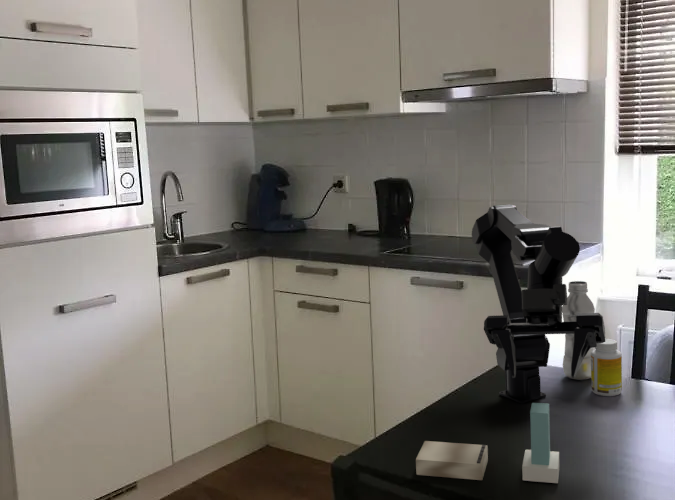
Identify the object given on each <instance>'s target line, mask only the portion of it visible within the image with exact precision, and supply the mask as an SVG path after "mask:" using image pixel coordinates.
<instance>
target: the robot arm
mask: <svg viewBox="0 0 675 500" xmlns="http://www.w3.org/2000/svg"><path fill="white" fill-rule="evenodd" d="M471 239H472V244H474V245H475V247H476V250H477V253H478V255H479V256H480V257H481V258H482V259H484V260H485V261H486V262H487V263H488V265H489V268H490V271H491V275H492V279H493V282H494V286H495V289H496V294H497V297H498V300H499V305H500V308H501V313H502V315H487V317H486V318H485V319H484V321H483V332H484V333H485V336H486V337H487V340H488V342H489V343H490V344H491V345H494V346H496V348H497V350H496V352H495V356H496V357H495V358H496V364H497V365H498V366H499V367H500V368H501V369H502V370H503V371H504V379H505V384H504V385H505V387H504V388H505V389H504V390H501V391H499V395H500V396H502V397H504V398H506V399H509V400H512V401H513V402H516V403H519V404H525V403H528V402H531V401H535V400H539V399H542V398H546V396H547V394H546V393H545V392H542V391H541V376H540V368H543V367H544V368H546V367H548V364H549V363H548V362H549V356H550V348H551V344H550V342H549V339H548V336H547V335H565V334H574V347H573V355H572V363H571V376H572V378H575V376H576V374H577V372H578V370H579V367H580V365H581V363H582V361H583V359H584V357H585V356H586V354H587V353H588V351H589V350H590V348H593V349H595V347H597V343H603V342H605V339H606V326H605V322H604V316H603V315H602V314H601V313H599V312H594V313H577V315H576V322H564V321H563V313H562V306H563V305H567V297H568V293H567V291H568V289H567V284H566V283H563V277H564V276H566V275H567V274H568V273H569V271H570V269H571V268H572V266H573V264H574V262H575V261H576V259H577V257H578V256H579V254H580V251H581V247H580V243H579V241H578V240H577V239H576V238H575V237H574V236H573V235H571V234H569V233H567V232H564V231H563V228H562V226H550V225H548V224H544V223H543V224H542V223H541V224H540V223H534V222H532V221H531V220H530V219H528V217H526V216H525V215H524V214H522V213H521V212H520V211H519V210H518V209H517V206H516V205H515V204H514V205H513V204H512V203H510V204H509V203H508V204H497V205H495V204H494V205H492V206H490V207H489V208H488V210H487V212H486V213H484V214H483V215H481V216H480V217H478V218H477V219H475V222H474V224H473V227H472V228H471ZM512 253H513V255H514V256H515V257H516V259H517V260H518V261H520V262H525V261H526V262H527V261H528V262H529V261H532V262H531V263H530V264H528V268H527V289H522V287H521V284H520V281H519V277H518V274H517V271H516V267H515V263H514V260H513V256H512Z"/></svg>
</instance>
